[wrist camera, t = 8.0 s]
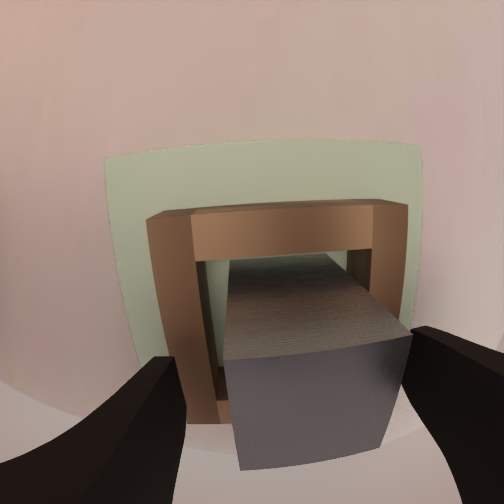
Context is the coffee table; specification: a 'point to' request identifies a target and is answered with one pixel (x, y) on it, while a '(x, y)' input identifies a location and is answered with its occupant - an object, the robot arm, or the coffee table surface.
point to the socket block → (253, 236)
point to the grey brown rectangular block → (307, 361)
